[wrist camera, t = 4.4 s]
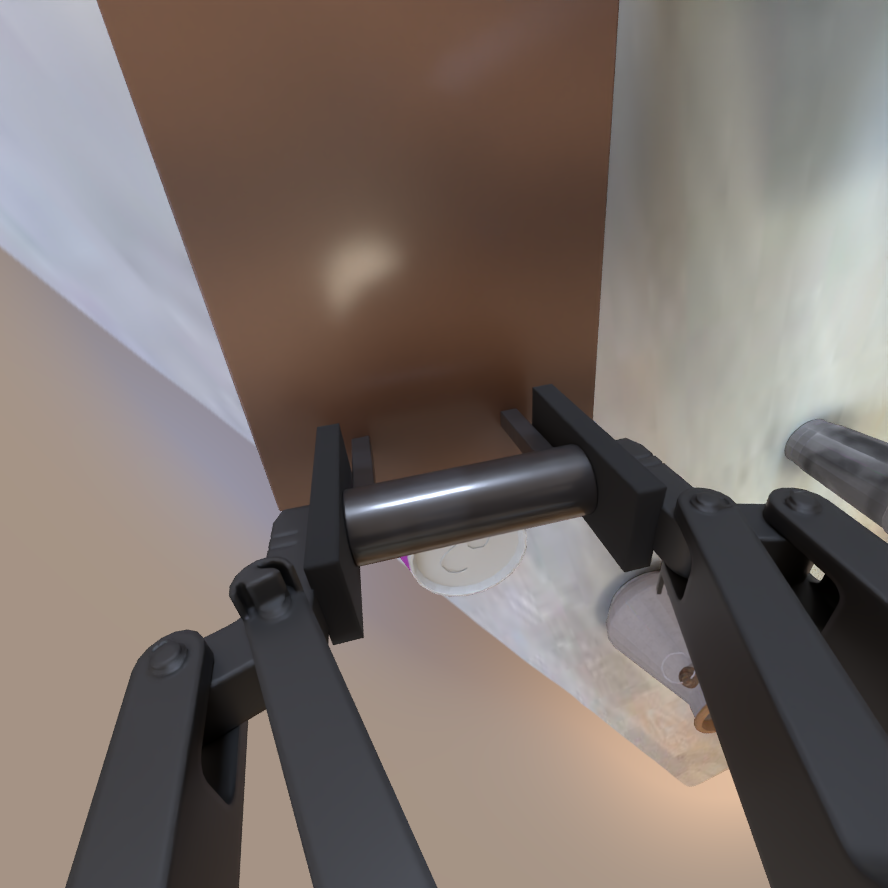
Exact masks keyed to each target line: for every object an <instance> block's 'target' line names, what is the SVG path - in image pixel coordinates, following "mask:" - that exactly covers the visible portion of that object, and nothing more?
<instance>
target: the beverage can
mask: <svg viewBox="0 0 888 888" xmlns="http://www.w3.org/2000/svg"><path fill="white" fill-rule="evenodd" d="M526 548H527V537H526V530H525V529H524V530H519V531H515V532H510V533H506V534H501V535H497V536H492V537H488V538H484V539H479V540H475V541H470V542H466V543H461V544H457V545H452V546H448V547H444V548H439V549H435V550H430V551H426V552H421V553H417V554H412V555H408V556H404V557H400V558H401V559H402V561H403V562H404V563H405V565H406V566H407V567H408V568H409V570H410V571H411V573H412V575H413V576H414V578H415V579H416V580H417V581H418V583H419V584H420V585H421V586H422V587H424V588H425V589H427V590H429V591H431V592H432V593H434V594H439V595H444V596H449V597H452V596H468V595H472V594H475V593H479V592H483V591H485V590H487V589H489V588H491V587H493V586H495V585H497V584H499V583H500V582H502V581H503V580H504V579H505V578H507V577H508V576H509V575H510V574H512V573H513V571H514V570H515V569H516V567H517V566H518V565H519V564H520V562H521V561H522V559H523V556H524V553H525V550H526Z"/></svg>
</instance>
